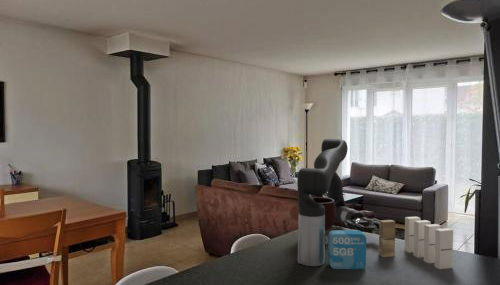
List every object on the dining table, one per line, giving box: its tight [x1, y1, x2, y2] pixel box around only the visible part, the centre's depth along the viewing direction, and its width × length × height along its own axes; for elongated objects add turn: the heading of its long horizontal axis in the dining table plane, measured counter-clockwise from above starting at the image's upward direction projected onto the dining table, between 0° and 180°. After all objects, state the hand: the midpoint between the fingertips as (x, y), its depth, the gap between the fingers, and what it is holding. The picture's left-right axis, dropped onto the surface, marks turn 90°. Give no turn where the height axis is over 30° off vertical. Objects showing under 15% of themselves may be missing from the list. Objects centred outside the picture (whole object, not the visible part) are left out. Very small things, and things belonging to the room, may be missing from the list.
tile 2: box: [403, 216, 422, 254], centre depth 143 cm, size 2×5×13 cm, turn 103°
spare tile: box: [378, 219, 396, 258], centre depth 138 cm, size 2×5×13 cm, turn 103°
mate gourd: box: [309, 195, 336, 246], centre depth 157 cm, size 16×14×20 cm
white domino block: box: [423, 223, 442, 264], centre depth 132 cm, size 2×5×13 cm, turn 103°
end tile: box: [434, 227, 454, 270], centre depth 127 cm, size 2×5×13 cm, turn 103°
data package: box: [327, 229, 367, 270], centre depth 128 cm, size 12×4×12 cm, turn 88°
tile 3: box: [413, 219, 431, 259], centre depth 138 cm, size 2×5×13 cm, turn 103°
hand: (372, 228), depth 148 cm, fingers open, 8 cm apart
